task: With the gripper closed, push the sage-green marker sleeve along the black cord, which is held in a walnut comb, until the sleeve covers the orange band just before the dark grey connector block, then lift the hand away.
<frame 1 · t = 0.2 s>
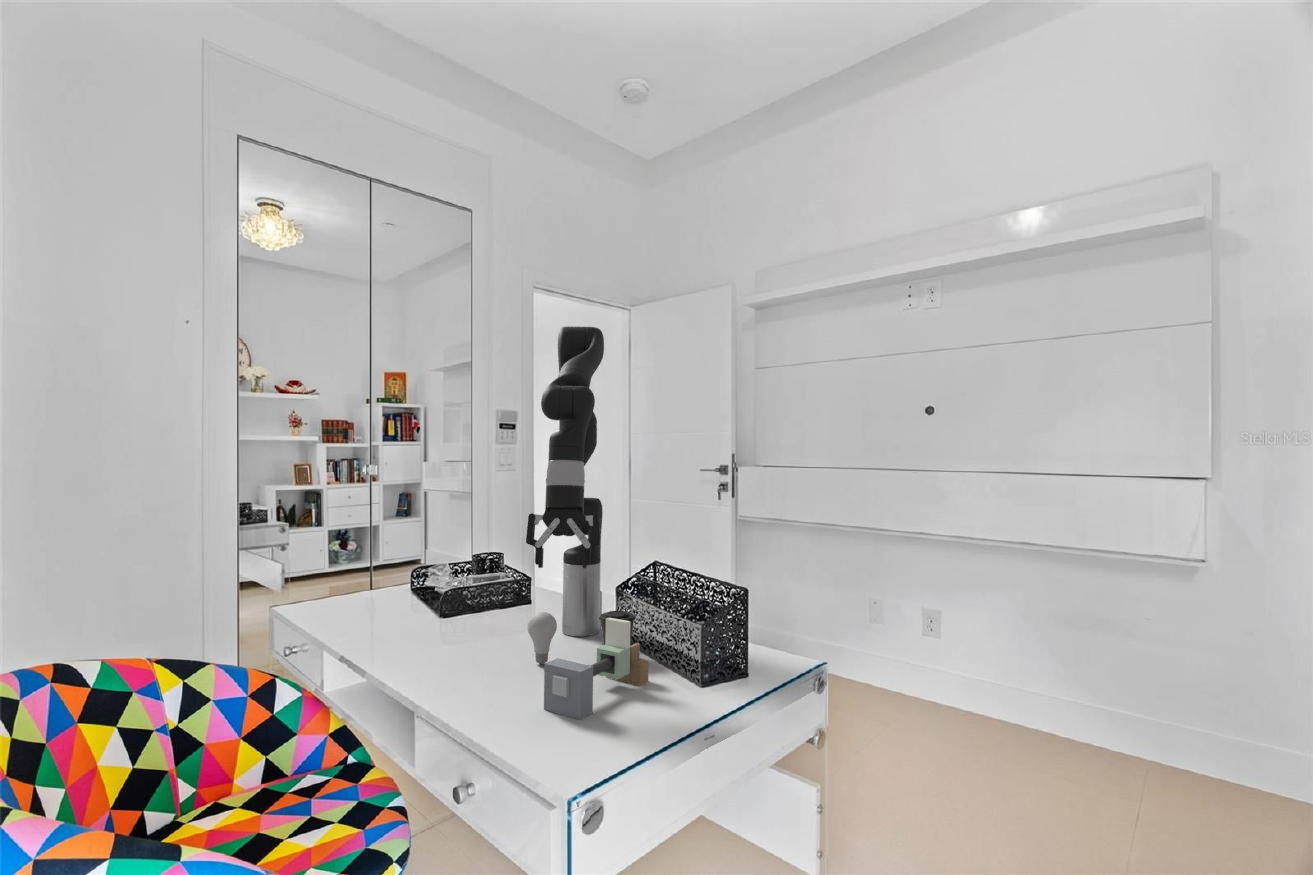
hand: (562, 567, 129), 22 cm above the table, tool pointing down, fingers open, 8 cm apart
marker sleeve: (613, 647, 127), point 7 cm above the table, slide at 0.0 cm
coffee cup: (616, 659, 144), on the table
lightbulb: (541, 665, 140), on the table
cord rig: (599, 694, 123), on the table
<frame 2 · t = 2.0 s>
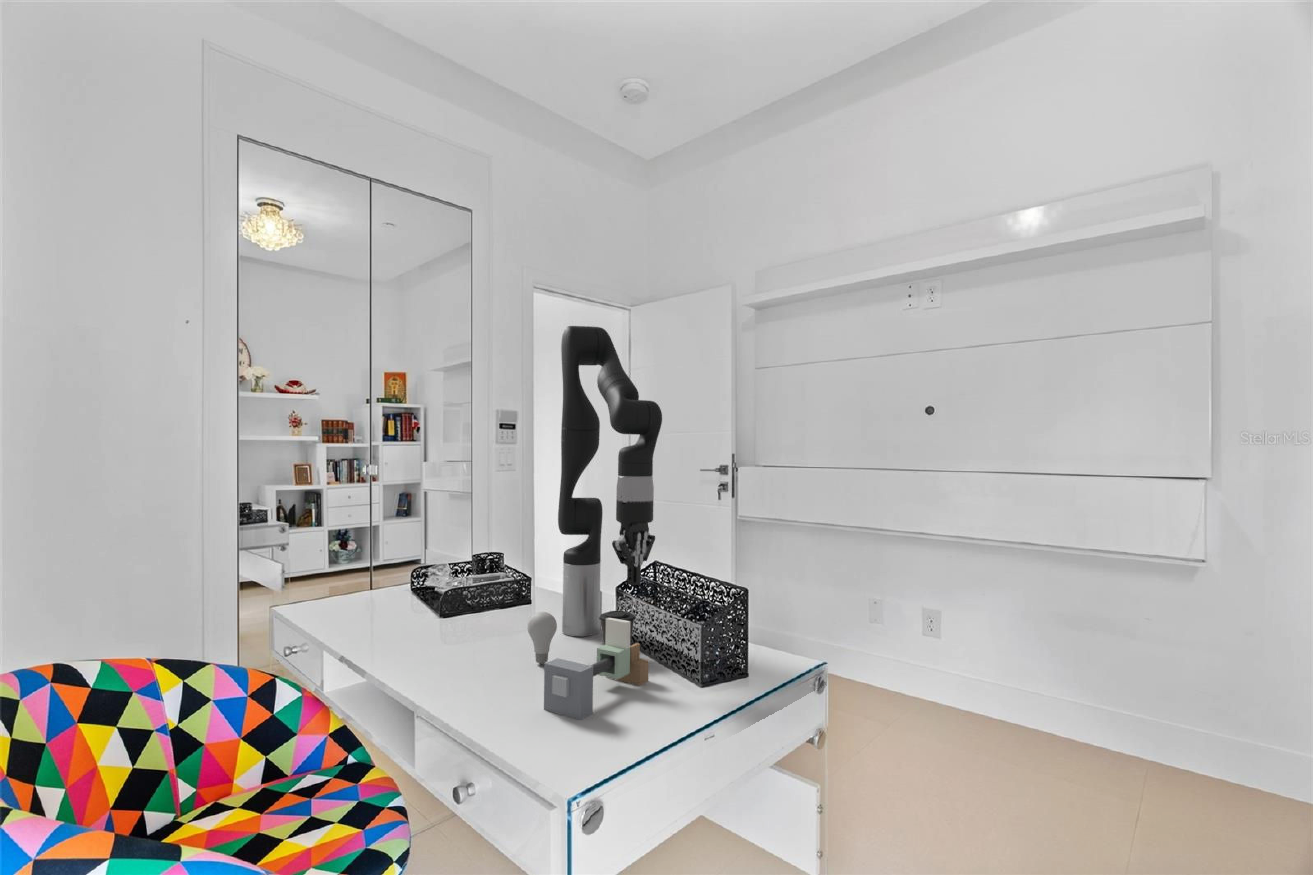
hand: (633, 584, 133), 18 cm above the table, tool pointing down, fingers closed
nothing on the table moved.
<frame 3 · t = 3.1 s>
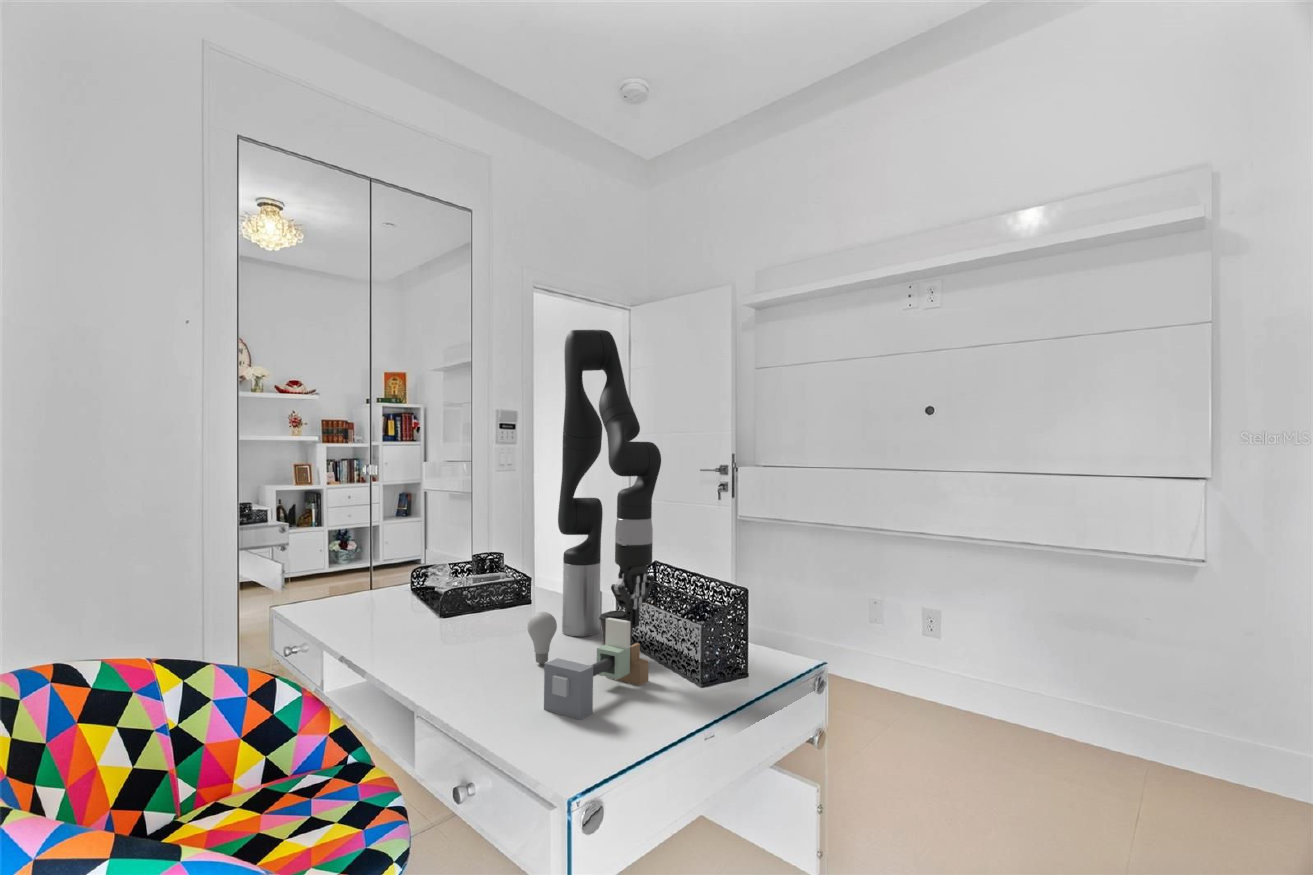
hand: (632, 626, 133), 10 cm above the table, tool pointing down, fingers closed
nothing on the table moved.
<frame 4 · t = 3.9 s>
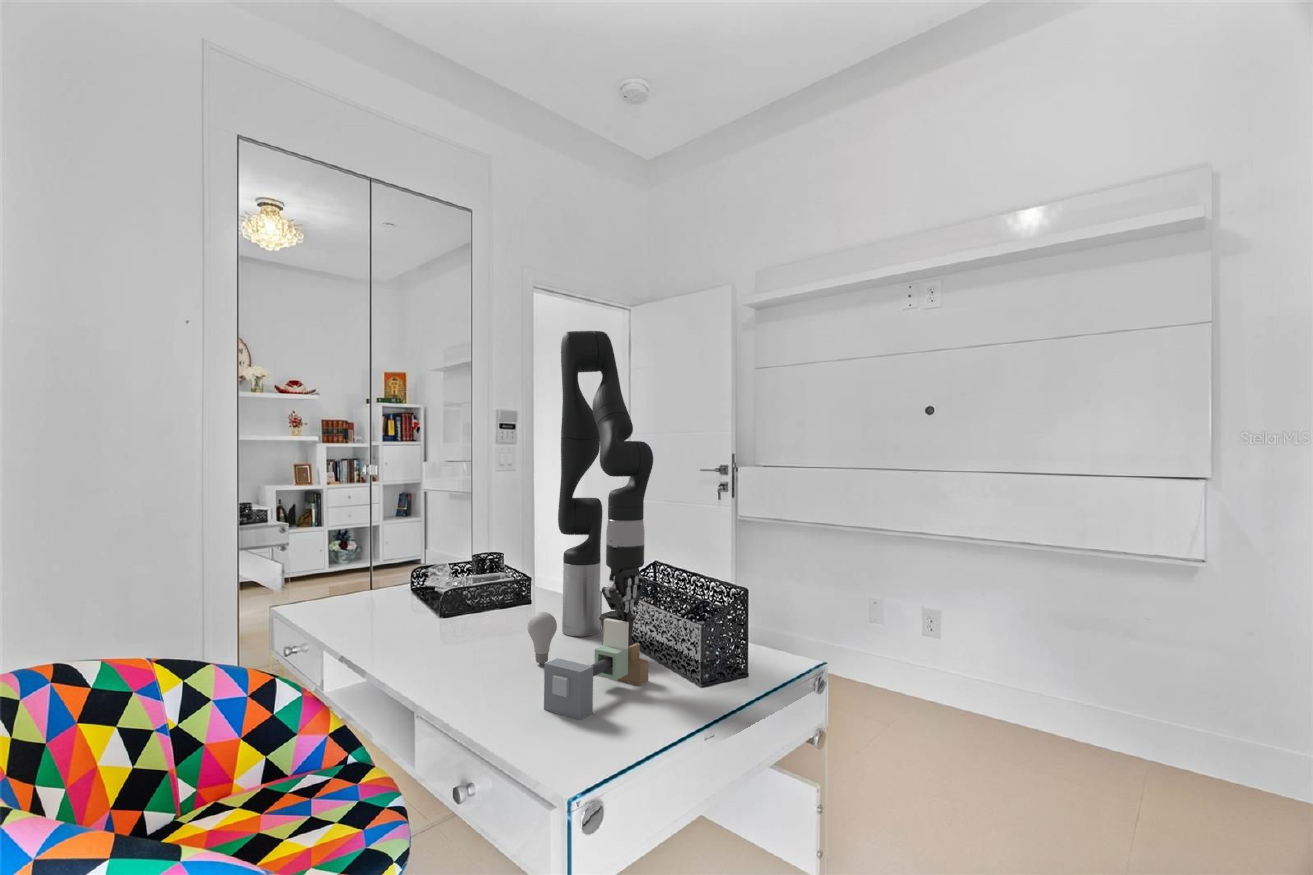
hand: (624, 630, 130), 10 cm above the table, tool pointing down, fingers closed
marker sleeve: (611, 648, 127), point 7 cm above the table, slide at 0.7 cm, touching gripper
everything else where it was.
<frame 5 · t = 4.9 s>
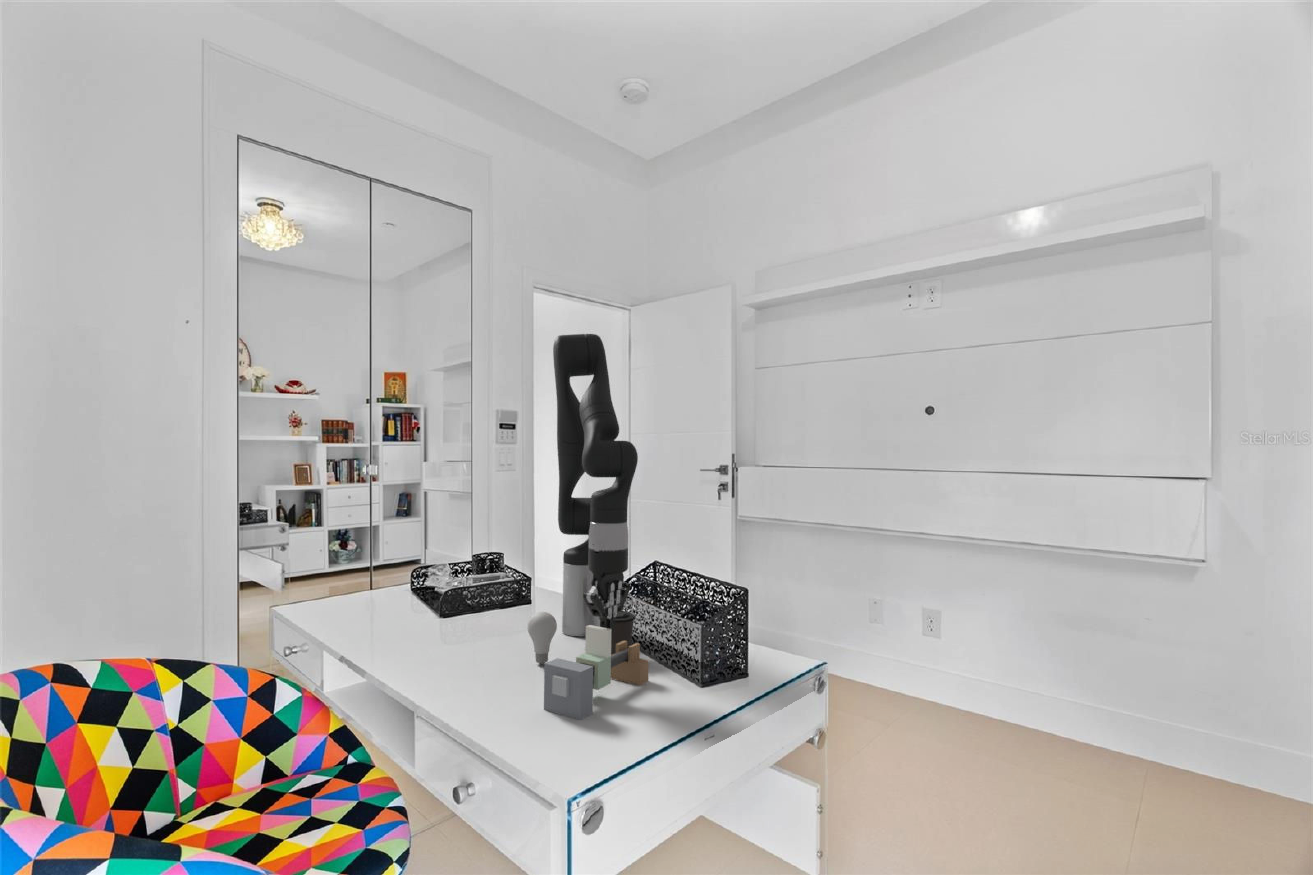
hand: (607, 637, 125), 10 cm above the table, tool pointing down, fingers closed
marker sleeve: (593, 656, 122), point 7 cm above the table, slide at 6.5 cm, touching gripper
everything else where it was.
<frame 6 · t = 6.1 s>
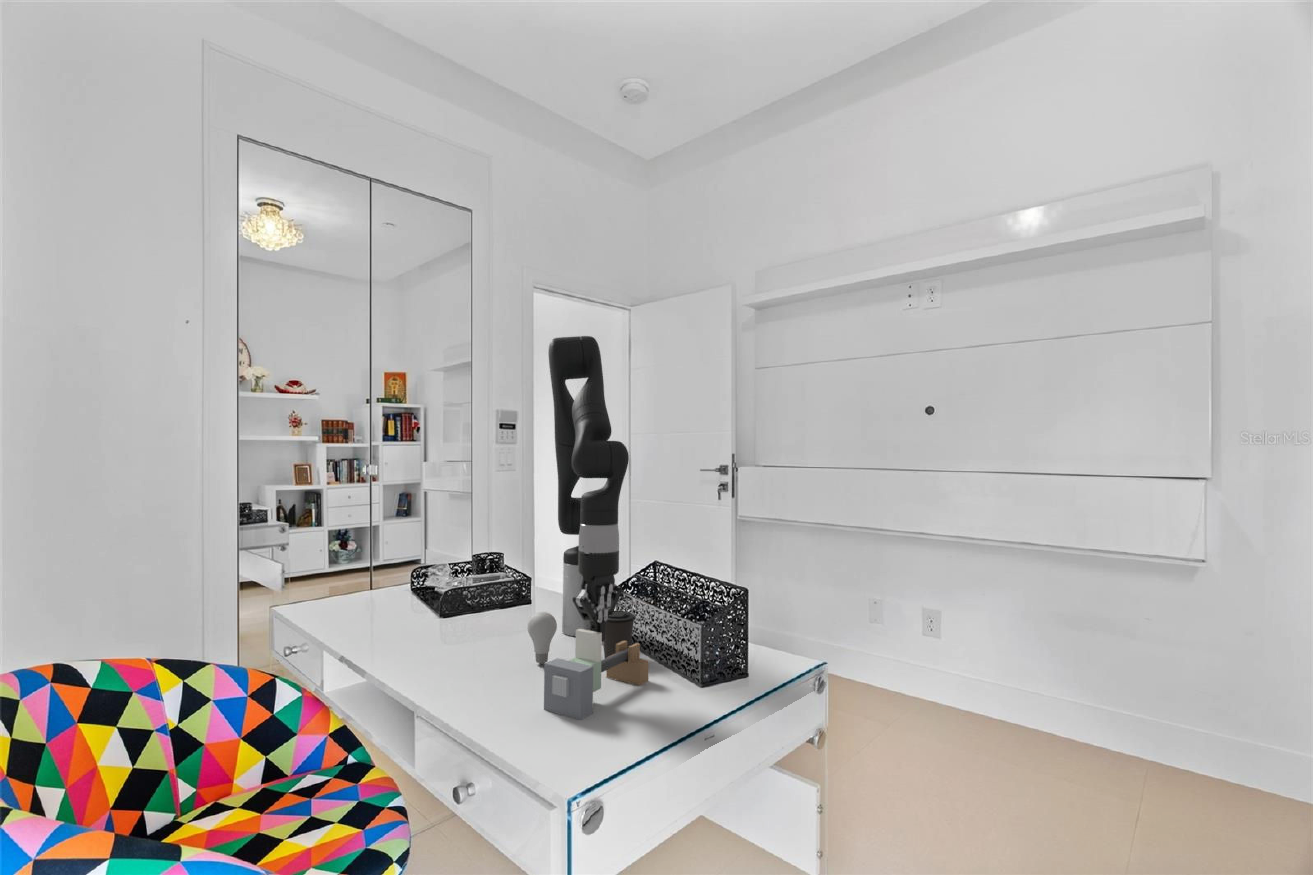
hand: (597, 641, 123), 10 cm above the table, tool pointing down, fingers closed
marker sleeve: (583, 661, 119), point 8 cm above the table, slide at 9.5 cm, touching gripper
everything else where it was.
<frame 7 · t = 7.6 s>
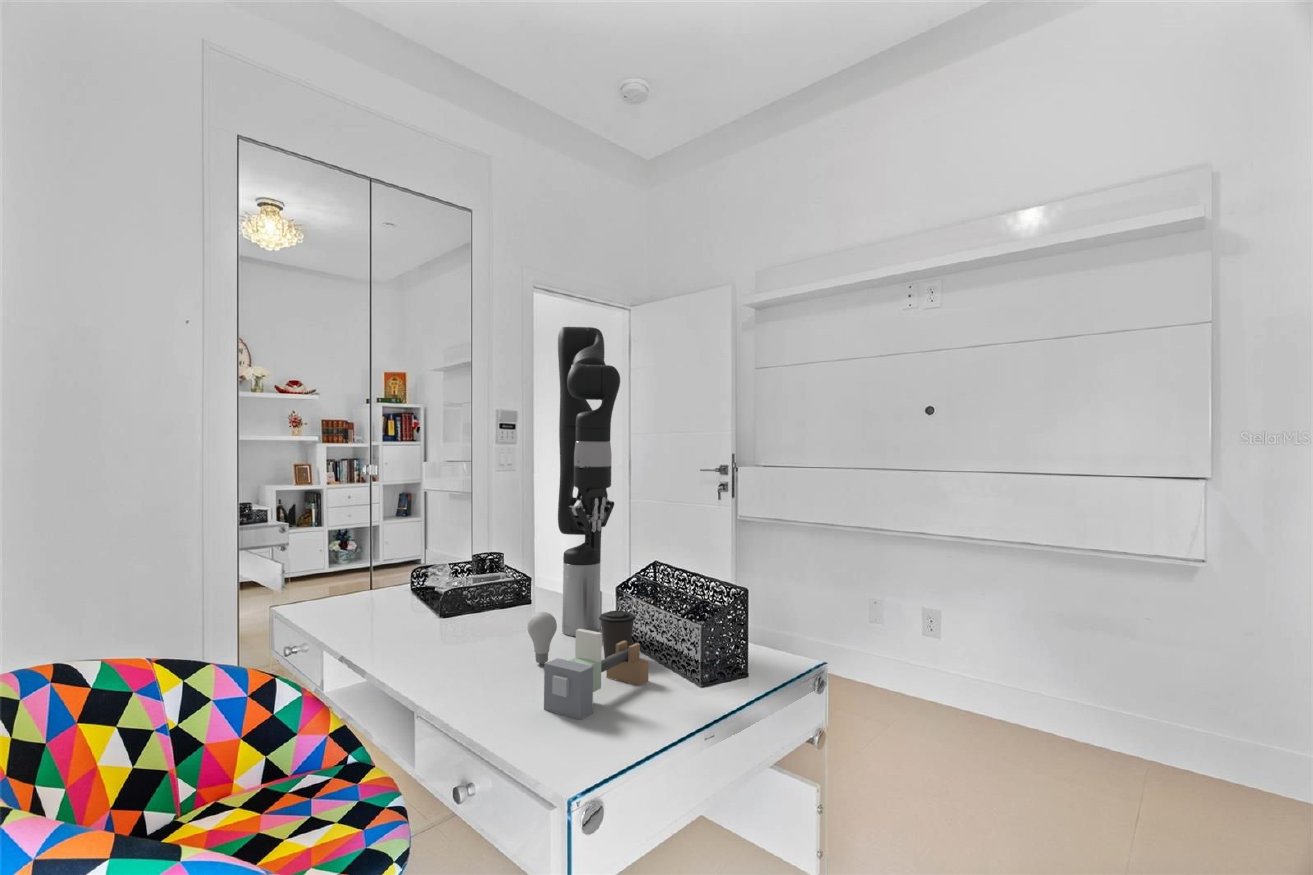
hand: (591, 549, 133), 25 cm above the table, tool pointing down, fingers closed
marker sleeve: (583, 661, 119), point 7 cm above the table, slide at 9.5 cm
everything else where it was.
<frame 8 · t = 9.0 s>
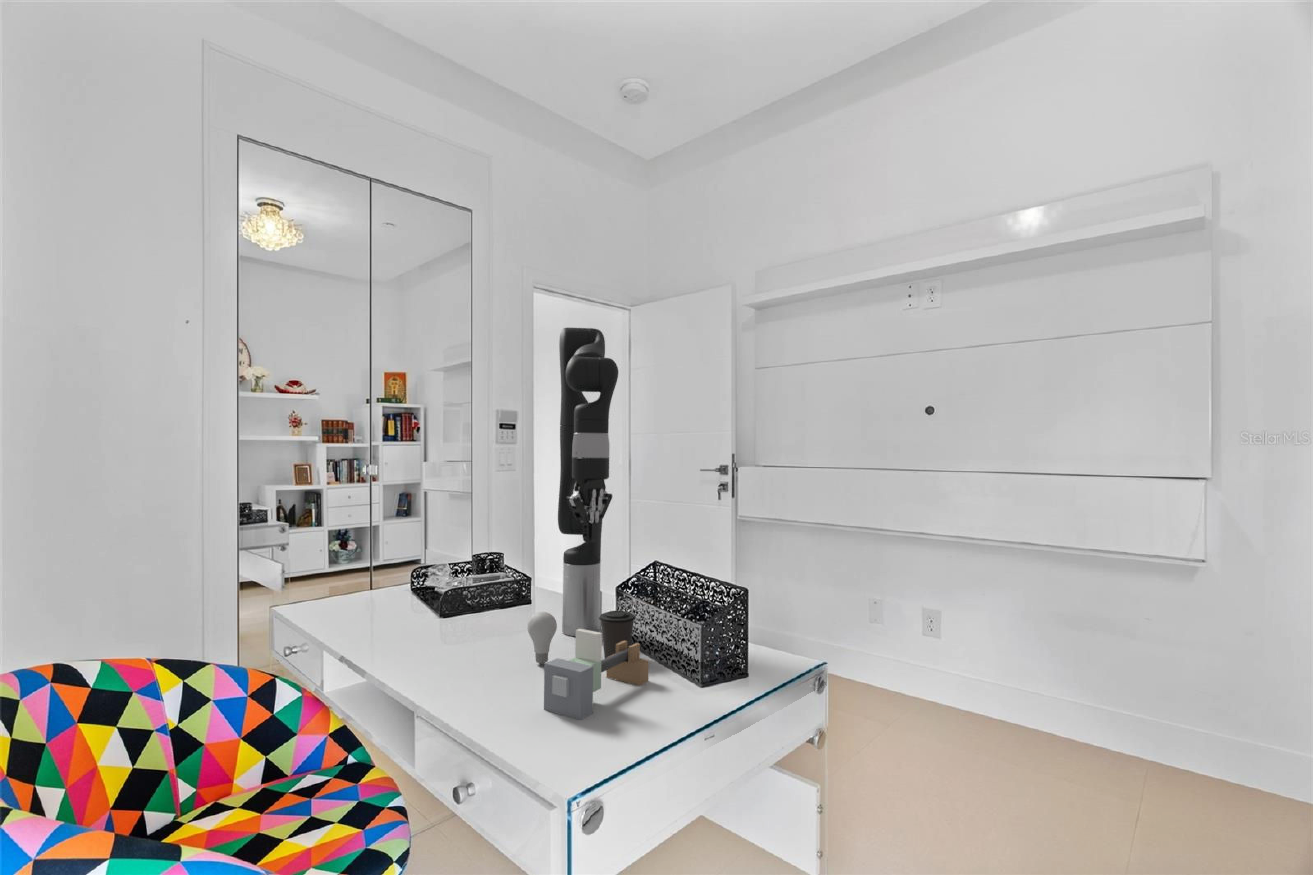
hand: (589, 541, 134), 27 cm above the table, tool pointing down, fingers closed
nothing on the table moved.
at the end: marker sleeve slide at 9.5 cm; lightbulb moved 0.2 cm from its start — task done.
